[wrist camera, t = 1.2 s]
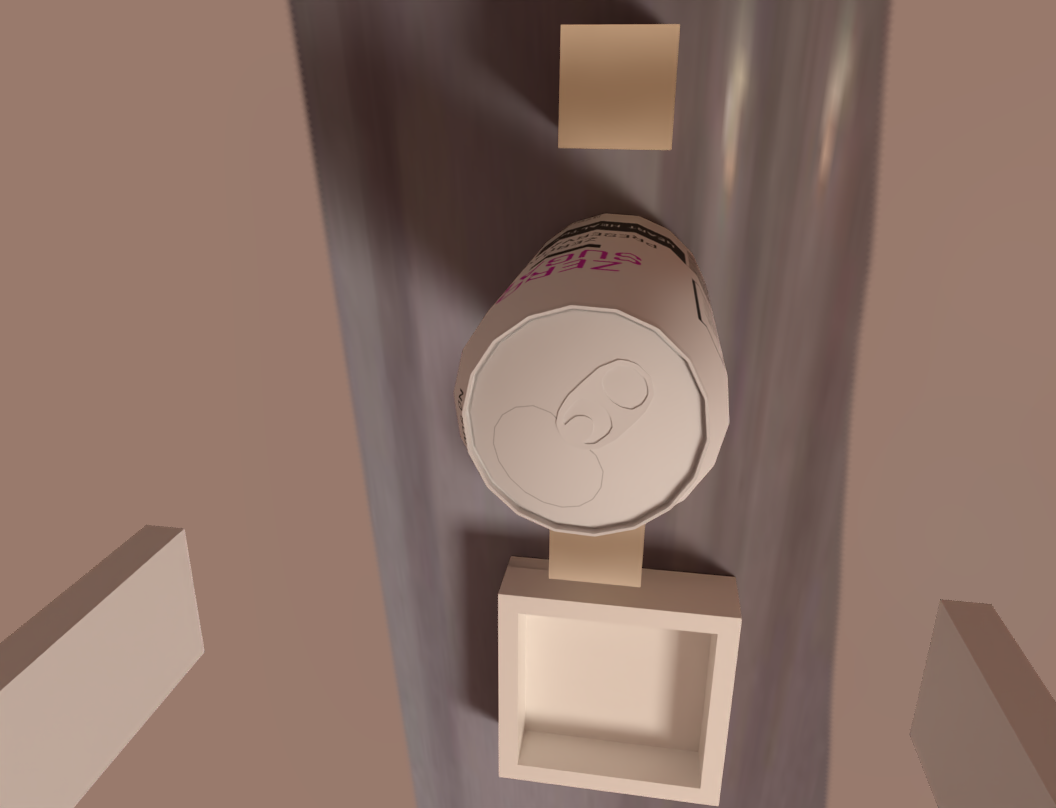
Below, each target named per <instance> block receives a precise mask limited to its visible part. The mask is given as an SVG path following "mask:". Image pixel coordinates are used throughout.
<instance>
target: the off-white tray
mask: <svg viewBox="0 0 1056 808" xmlns="http://www.w3.org/2000/svg"><path fill="white" fill-rule="evenodd" d="M741 622H742V616H741V609H740V603H739V596H738V590H737V583H736V577H730V576H719V575H708V574H697V573H687V572H676V571H665V570H655V569H644V568H642V575H641V587H632V586H621V585H611V584H601V583H591V582H580V581H570V580H560V579H549V560H548V559H537V558H526V557H516V556H511V557H510V560H509V563H508V566H507V569H506V572H505V575H504V578H503V581H502V584H501V587H500V590H499V593H498V681H499V777H505V778H512V779H520V780H527V781H535V782H542V783H549V784H557V785H564V786H572V787H579V788H587V789H594V790H601V791H609V792H616V793H624V794H631V795H639V796H646V797H653V798H661V799H668V800H676V801H683V802H691V803H698V804H705V805H713V806H719V798H720V790H721V782H722V774H723V766H724V758H725V750H726V742H727V734H728V726H729V718H730V710H731V702H732V694H733V686H734V678H735V670H736V662H737V654H738V646H739V638H740V630H741Z"/></svg>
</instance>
